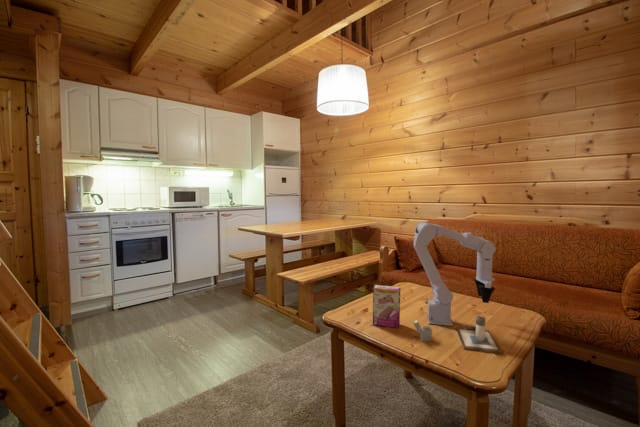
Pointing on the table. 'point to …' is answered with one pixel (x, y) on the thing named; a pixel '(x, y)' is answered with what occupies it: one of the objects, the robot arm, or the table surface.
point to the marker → (480, 329)
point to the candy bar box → (386, 306)
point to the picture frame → (470, 343)
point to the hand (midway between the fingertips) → (483, 299)
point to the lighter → (423, 332)
